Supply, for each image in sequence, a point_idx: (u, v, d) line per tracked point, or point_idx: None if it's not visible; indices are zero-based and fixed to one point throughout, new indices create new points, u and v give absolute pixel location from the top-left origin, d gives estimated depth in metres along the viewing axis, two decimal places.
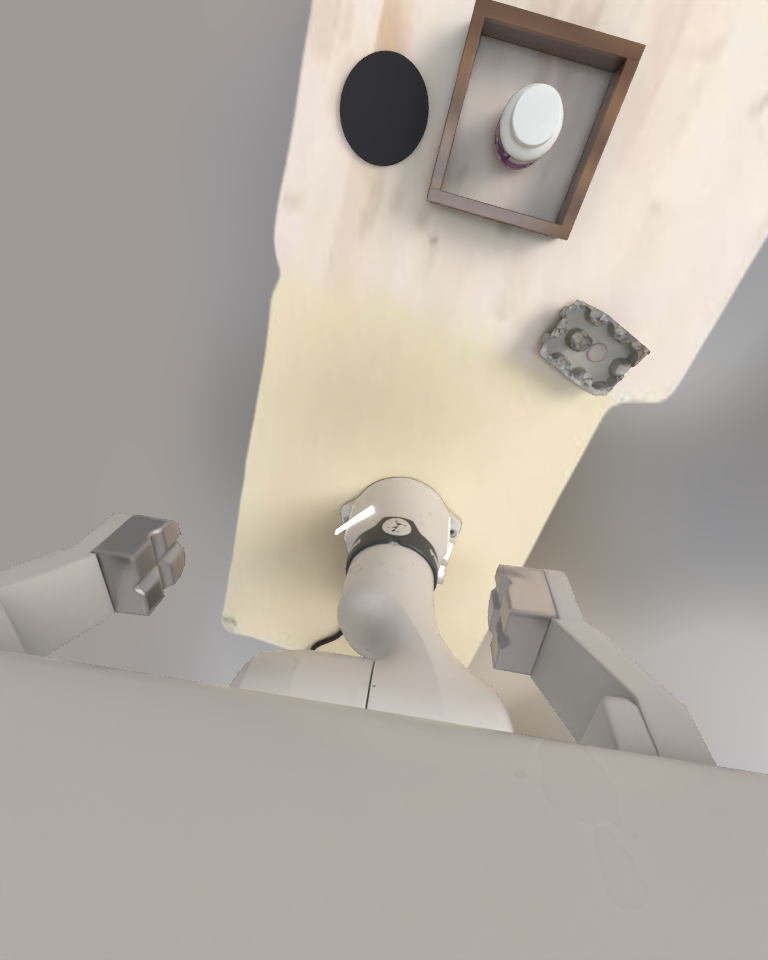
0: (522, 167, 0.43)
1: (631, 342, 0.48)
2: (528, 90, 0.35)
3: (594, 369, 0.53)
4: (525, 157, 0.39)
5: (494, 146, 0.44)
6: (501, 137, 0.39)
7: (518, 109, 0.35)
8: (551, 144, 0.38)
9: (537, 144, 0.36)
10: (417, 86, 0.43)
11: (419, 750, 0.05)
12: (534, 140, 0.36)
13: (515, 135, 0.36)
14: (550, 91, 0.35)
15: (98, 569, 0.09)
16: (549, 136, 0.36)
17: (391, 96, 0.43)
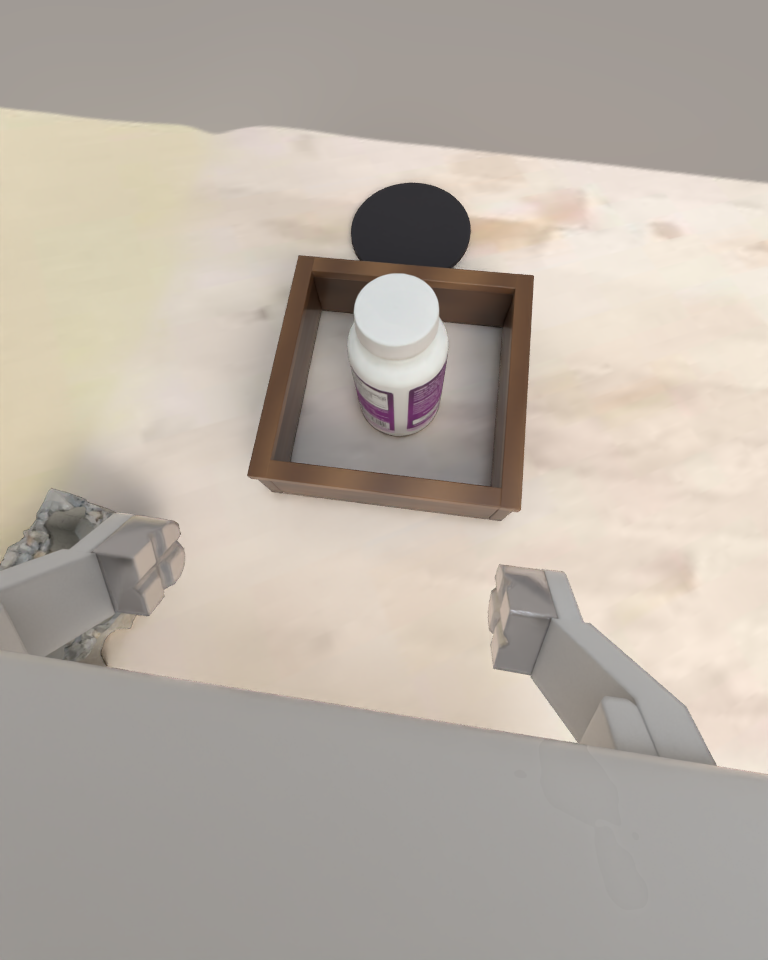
0: (358, 398, 0.27)
1: None
2: (427, 286, 0.20)
3: None
4: (349, 340, 0.22)
5: None
6: None
7: (401, 278, 0.20)
8: (370, 375, 0.22)
9: (356, 321, 0.20)
10: (440, 262, 0.32)
11: (419, 749, 0.05)
12: (360, 313, 0.20)
13: None
14: (430, 318, 0.20)
15: (98, 569, 0.09)
16: (368, 335, 0.20)
17: (426, 235, 0.32)
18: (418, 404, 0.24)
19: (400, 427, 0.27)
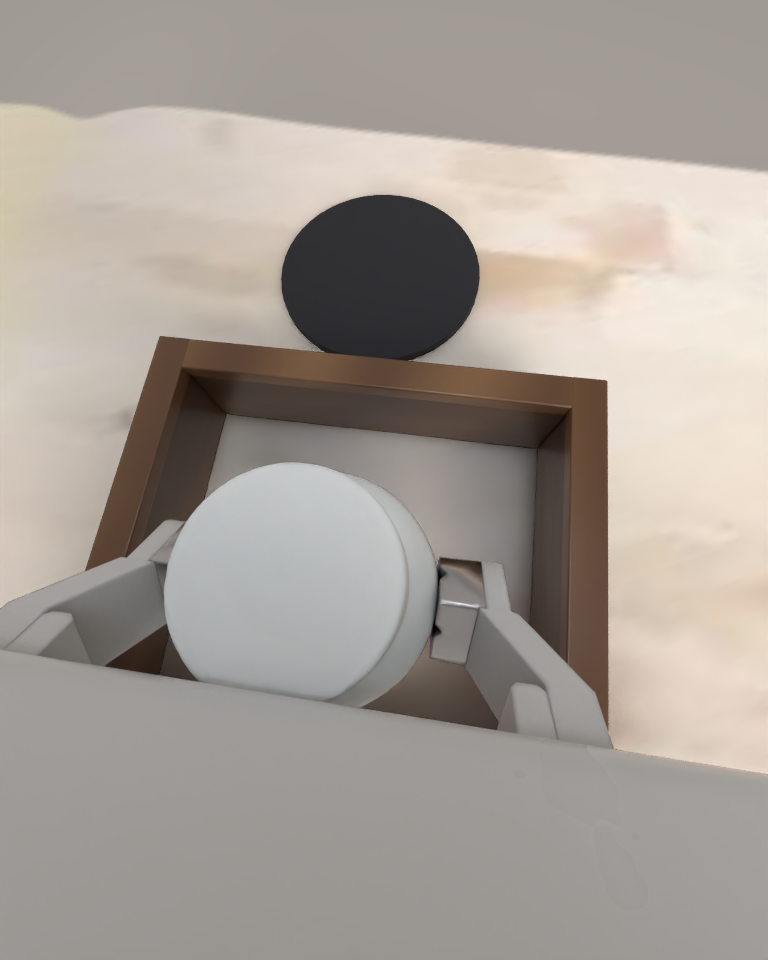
0: None
1: None
2: (374, 508, 0.07)
3: None
4: None
5: None
6: None
7: (304, 480, 0.07)
8: None
9: (169, 613, 0.07)
10: (428, 331, 0.19)
11: (420, 750, 0.05)
12: (181, 592, 0.07)
13: None
14: (378, 618, 0.07)
15: (156, 577, 0.09)
16: (196, 669, 0.07)
17: (405, 283, 0.19)
18: None
19: None
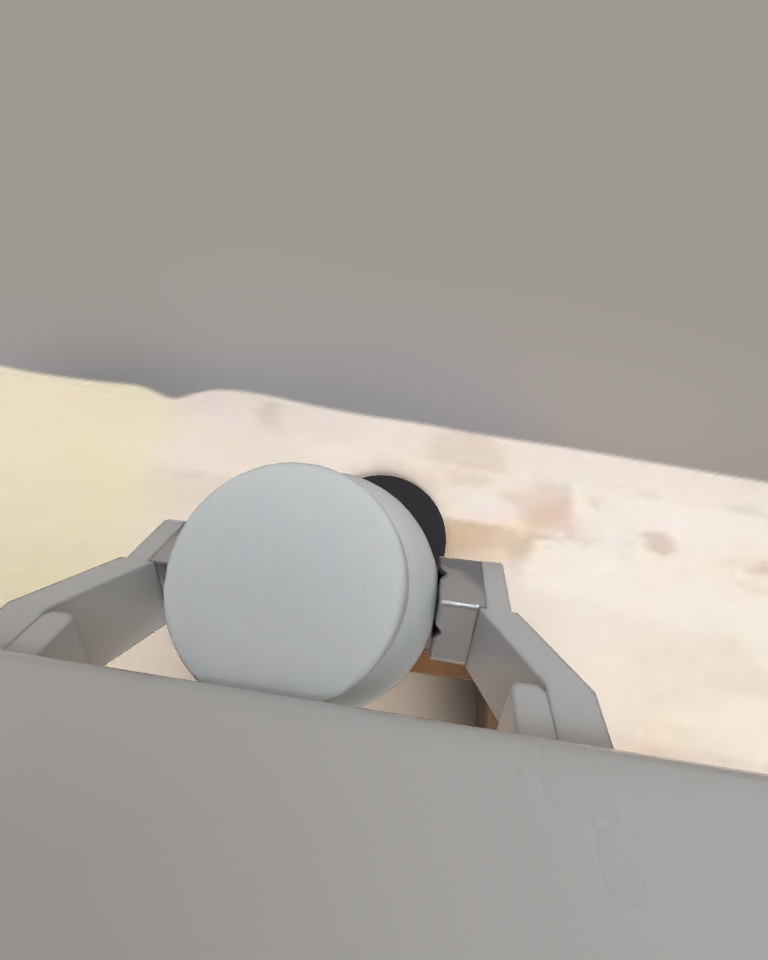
0: None
1: None
2: (374, 508, 0.07)
3: None
4: None
5: None
6: None
7: (304, 481, 0.07)
8: None
9: (168, 614, 0.07)
10: None
11: (419, 749, 0.05)
12: (180, 592, 0.07)
13: None
14: (378, 619, 0.07)
15: (156, 577, 0.09)
16: (195, 670, 0.07)
17: None
18: None
19: None
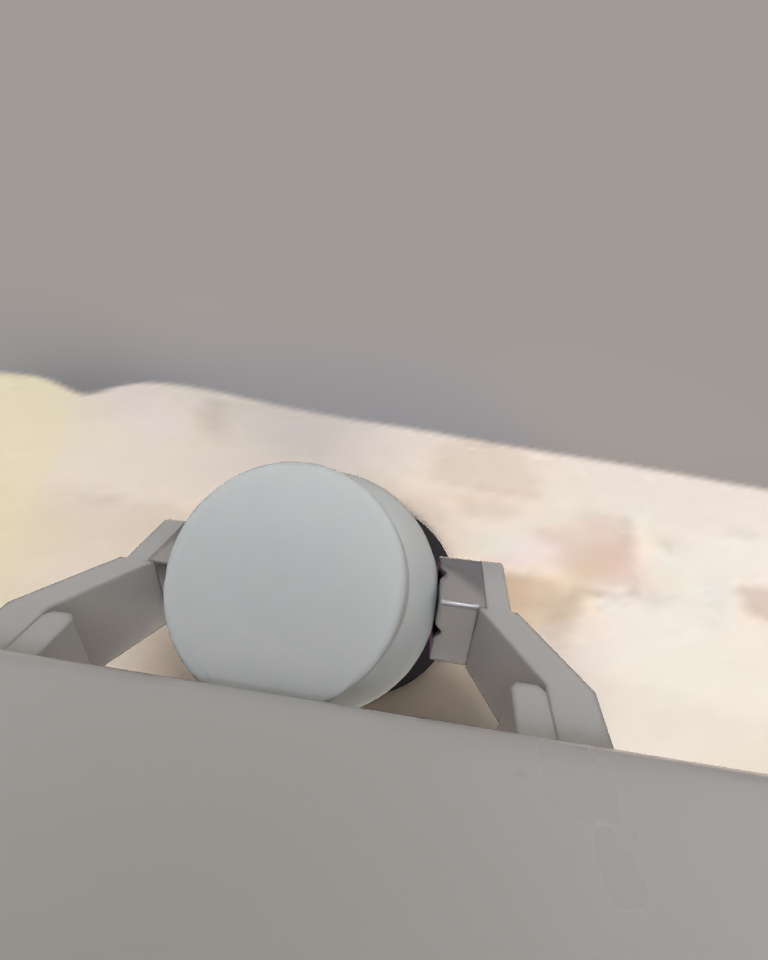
0: None
1: None
2: (374, 508, 0.07)
3: None
4: None
5: None
6: None
7: (304, 480, 0.07)
8: None
9: (168, 613, 0.07)
10: None
11: (419, 750, 0.05)
12: (180, 592, 0.07)
13: None
14: (378, 618, 0.07)
15: (156, 577, 0.09)
16: (195, 669, 0.07)
17: None
18: None
19: None
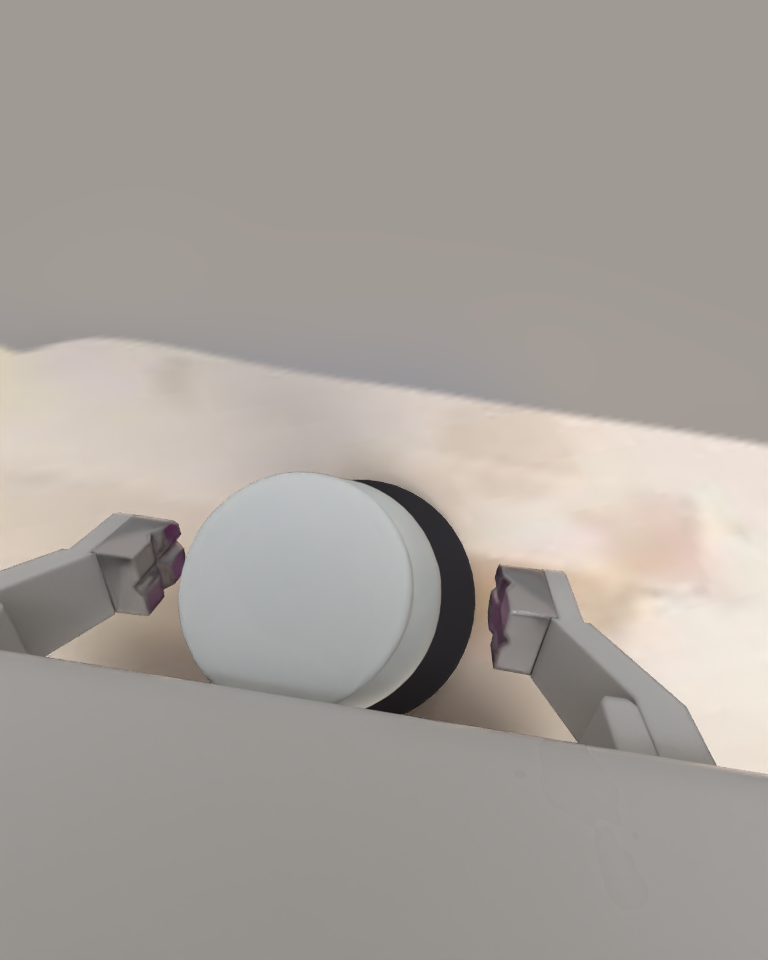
0: None
1: None
2: (381, 517, 0.07)
3: None
4: None
5: None
6: None
7: (312, 489, 0.08)
8: None
9: (183, 618, 0.07)
10: (413, 684, 0.15)
11: (419, 750, 0.05)
12: (195, 598, 0.07)
13: None
14: (385, 623, 0.07)
15: (98, 569, 0.09)
16: (210, 672, 0.07)
17: None
18: None
19: None
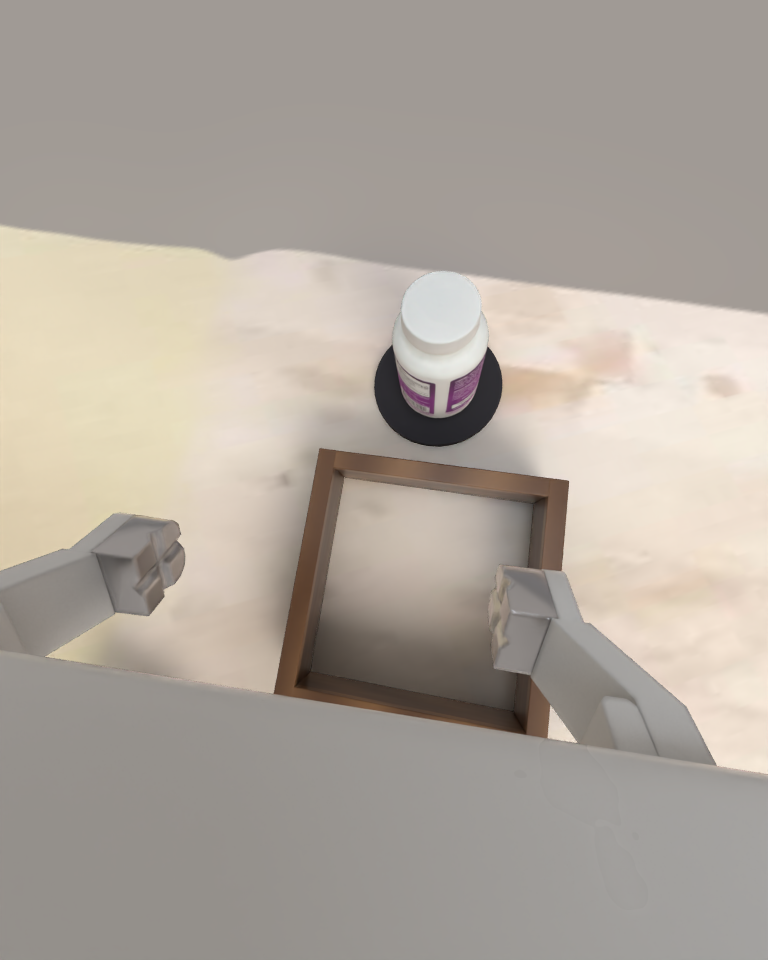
0: None
1: None
2: (470, 284, 0.21)
3: None
4: (394, 334, 0.24)
5: None
6: None
7: (446, 276, 0.21)
8: (414, 368, 0.23)
9: (403, 319, 0.21)
10: (468, 425, 0.30)
11: (419, 749, 0.05)
12: (407, 311, 0.21)
13: None
14: (472, 316, 0.21)
15: (98, 569, 0.09)
16: (414, 333, 0.21)
17: None
18: (458, 392, 0.26)
19: (439, 411, 0.28)
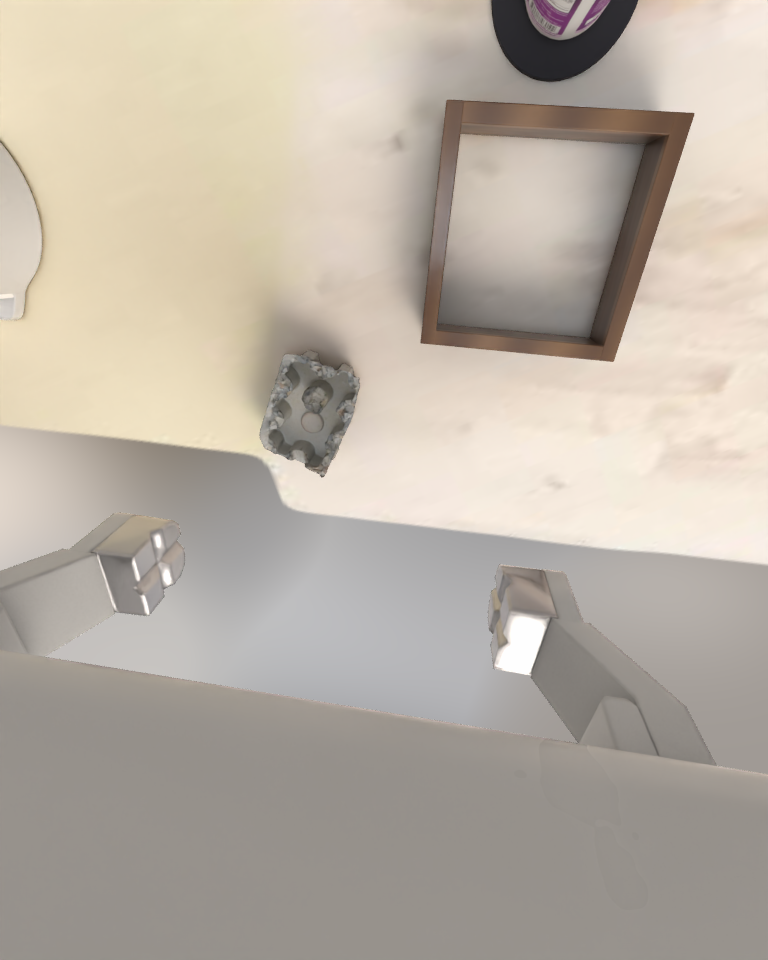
0: None
1: (328, 455, 0.41)
2: None
3: (293, 425, 0.44)
4: None
5: None
6: None
7: None
8: None
9: None
10: (595, 47, 0.28)
11: (419, 750, 0.05)
12: None
13: None
14: None
15: (98, 569, 0.09)
16: None
17: None
18: (602, 1, 0.24)
19: (570, 30, 0.26)
